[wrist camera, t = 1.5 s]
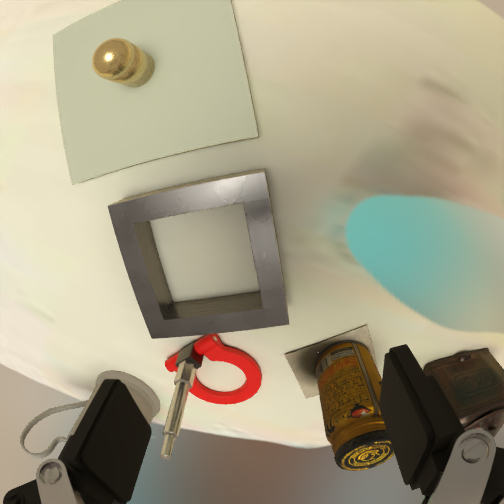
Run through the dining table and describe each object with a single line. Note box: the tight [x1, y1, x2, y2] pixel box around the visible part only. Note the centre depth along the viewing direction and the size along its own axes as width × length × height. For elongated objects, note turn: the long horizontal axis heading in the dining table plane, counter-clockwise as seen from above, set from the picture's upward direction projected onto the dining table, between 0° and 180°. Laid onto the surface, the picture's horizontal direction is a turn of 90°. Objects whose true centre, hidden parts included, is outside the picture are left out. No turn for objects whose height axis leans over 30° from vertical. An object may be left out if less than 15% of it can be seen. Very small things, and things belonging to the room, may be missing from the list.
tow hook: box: [160, 333, 261, 460], centre depth 24 cm, size 8×13×9 cm
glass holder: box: [20, 371, 160, 462], centre depth 25 cm, size 9×14×15 cm, turn 82°
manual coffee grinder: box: [423, 348, 504, 438], centre depth 22 cm, size 16×11×18 cm
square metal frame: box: [108, 169, 289, 339], centre depth 24 cm, size 12×12×3 cm
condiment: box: [285, 325, 395, 471], centre depth 24 cm, size 7×8×12 cm
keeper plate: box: [53, 0, 259, 185], centre depth 20 cm, size 16×15×2 cm
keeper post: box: [92, 38, 155, 88], centre depth 16 cm, size 3×3×6 cm
